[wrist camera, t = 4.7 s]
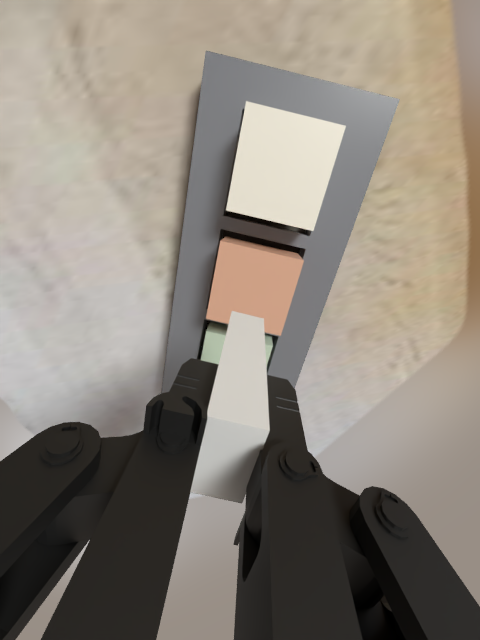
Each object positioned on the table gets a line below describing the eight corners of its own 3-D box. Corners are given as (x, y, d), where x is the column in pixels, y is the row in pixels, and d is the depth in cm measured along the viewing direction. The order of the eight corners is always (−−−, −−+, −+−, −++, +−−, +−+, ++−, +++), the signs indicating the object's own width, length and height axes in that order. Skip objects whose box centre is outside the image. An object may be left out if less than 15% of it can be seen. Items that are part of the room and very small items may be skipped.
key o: (212, 316, 27) (206, 330, 23) (271, 329, 27) (272, 346, 24) (202, 366, 29) (195, 386, 26) (256, 378, 29) (256, 399, 26)
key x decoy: (225, 236, 22) (220, 240, 19) (297, 253, 22) (304, 260, 19) (213, 304, 24) (205, 318, 21) (277, 319, 24) (280, 335, 21)
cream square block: (248, 120, 19) (246, 101, 16) (331, 140, 19) (346, 125, 16) (230, 210, 21) (226, 210, 18) (304, 228, 21) (313, 231, 18)
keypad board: (212, 69, 20) (205, 50, 17) (383, 112, 20) (399, 99, 18) (168, 380, 30) (161, 395, 28) (280, 405, 30) (282, 421, 28)
